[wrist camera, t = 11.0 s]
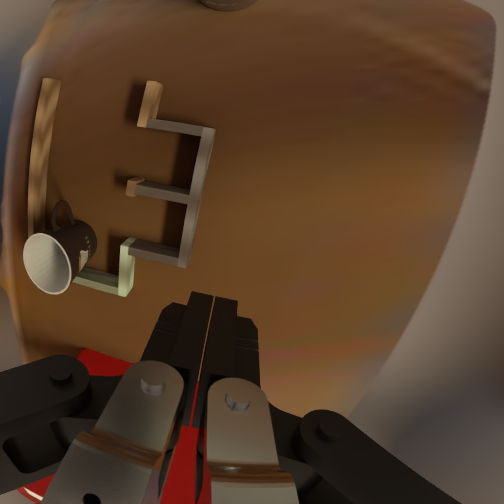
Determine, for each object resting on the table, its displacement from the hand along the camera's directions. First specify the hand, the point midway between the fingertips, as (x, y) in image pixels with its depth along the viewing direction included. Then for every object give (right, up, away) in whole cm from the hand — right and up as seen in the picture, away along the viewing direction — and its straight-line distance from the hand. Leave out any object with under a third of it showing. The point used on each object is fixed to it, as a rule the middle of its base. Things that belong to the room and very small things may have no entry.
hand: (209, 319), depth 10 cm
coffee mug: (-24, +5, +32) cm, 41 cm away
